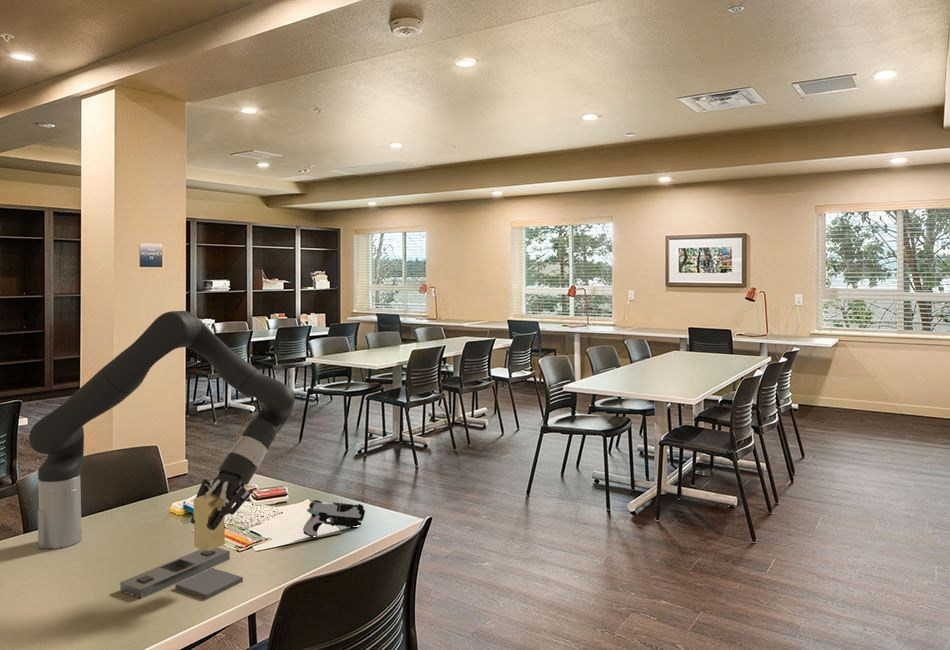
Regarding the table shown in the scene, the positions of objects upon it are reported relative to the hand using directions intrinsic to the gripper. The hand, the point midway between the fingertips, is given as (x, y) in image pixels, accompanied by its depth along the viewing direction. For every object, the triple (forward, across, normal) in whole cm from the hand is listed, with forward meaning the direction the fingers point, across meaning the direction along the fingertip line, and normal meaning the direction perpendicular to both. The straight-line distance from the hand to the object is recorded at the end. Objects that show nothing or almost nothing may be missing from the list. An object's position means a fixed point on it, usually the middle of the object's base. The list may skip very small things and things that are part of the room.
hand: (202, 526), depth 150 cm
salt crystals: (-16, -29, +37) cm, 50 cm away
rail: (+9, -11, +11) cm, 18 cm away
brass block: (+2, 0, +5) cm, 6 cm away
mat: (+9, 0, +11) cm, 14 cm away
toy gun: (-19, +3, +39) cm, 44 cm away
